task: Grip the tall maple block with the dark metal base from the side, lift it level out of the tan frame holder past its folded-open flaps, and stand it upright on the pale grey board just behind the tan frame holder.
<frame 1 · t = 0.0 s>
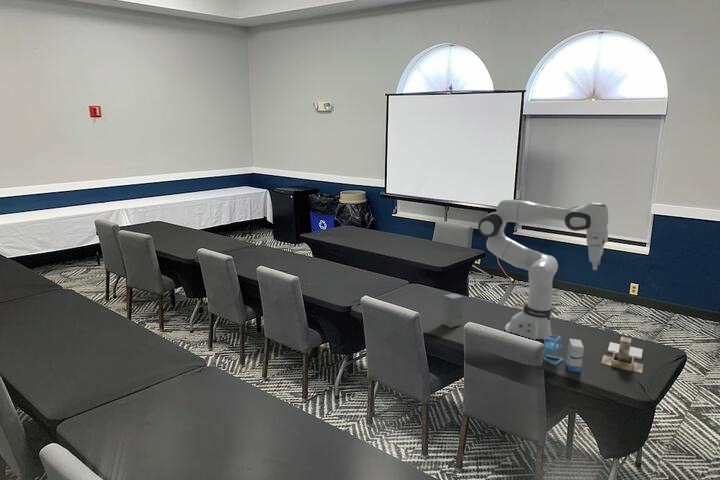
hand: (596, 267, 242), 39 cm above the table, tool pointing down, fingers open, 8 cm apart
chair: (550, 360, 235), on the table
tan frame holder: (622, 364, 232), on the table
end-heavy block: (624, 352, 231), in the tan frame holder
skincare box: (451, 324, 271), on the table
board: (625, 351, 245), on the table
ink box: (573, 368, 228), on the table
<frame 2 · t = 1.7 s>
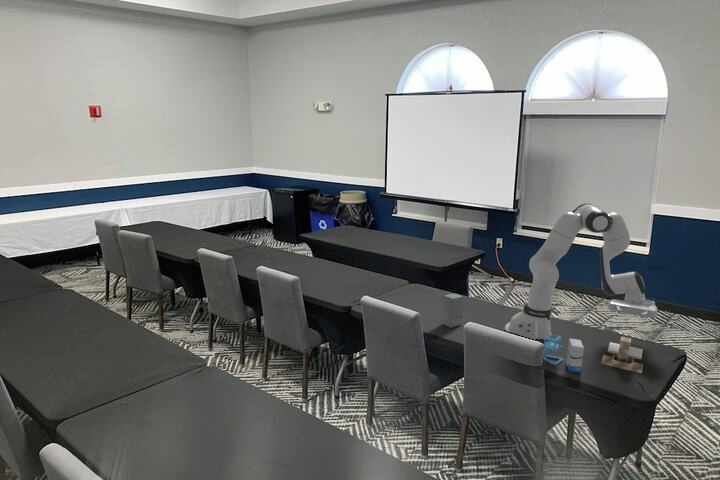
hand: (631, 313, 237), 20 cm above the table, tool horizontal, fingers open, 8 cm apart
nothing on the table moved.
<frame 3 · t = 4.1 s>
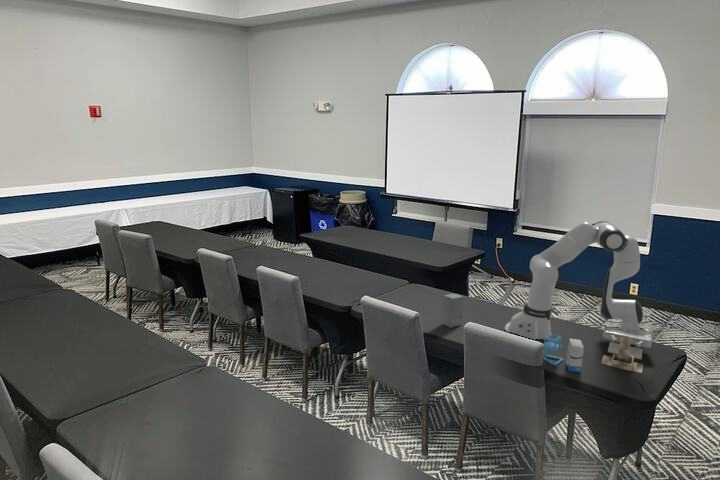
hand: (625, 343, 237), 7 cm above the table, tool horizontal, fingers open, 8 cm apart
nothing on the table moved.
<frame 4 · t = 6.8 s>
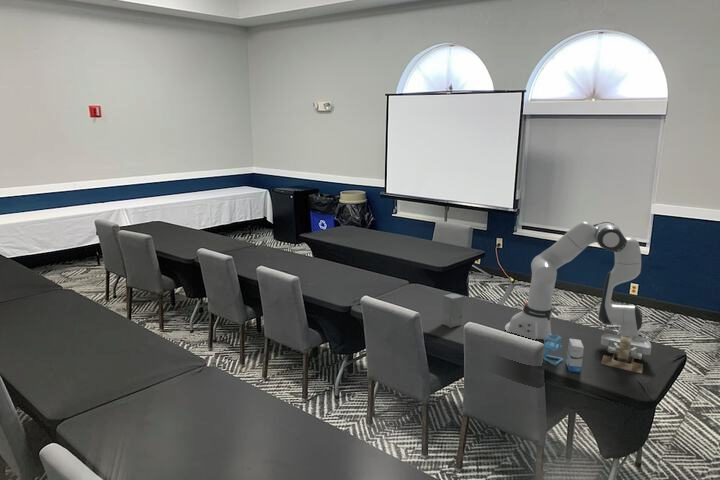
hand: (624, 350, 230), 7 cm above the table, tool horizontal, fingers closed on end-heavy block, 4 cm apart
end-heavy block: (624, 352, 231), in the tan frame holder, touching gripper
everything else where it was.
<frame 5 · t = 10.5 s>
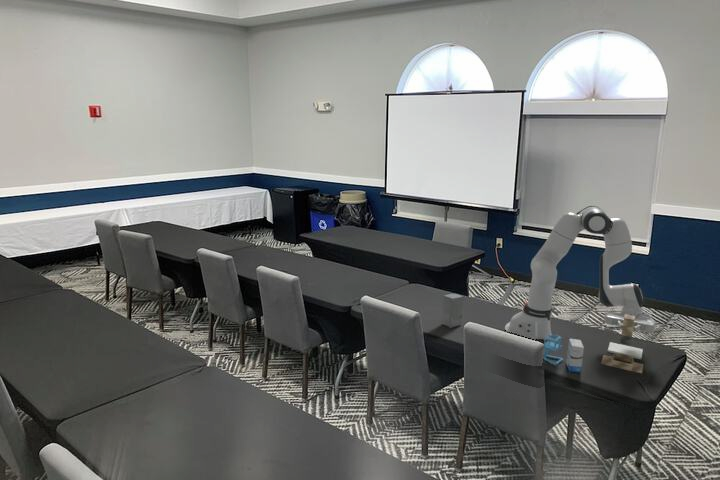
hand: (627, 328, 229), 17 cm above the table, tool horizontal, fingers closed on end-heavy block, 4 cm apart
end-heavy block: (627, 329, 230), point 16 cm above the table, touching gripper
everything else where it was.
when the fingers open (9 cm above the table, at t = 14.7 s): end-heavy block stays where it is, resting on board.
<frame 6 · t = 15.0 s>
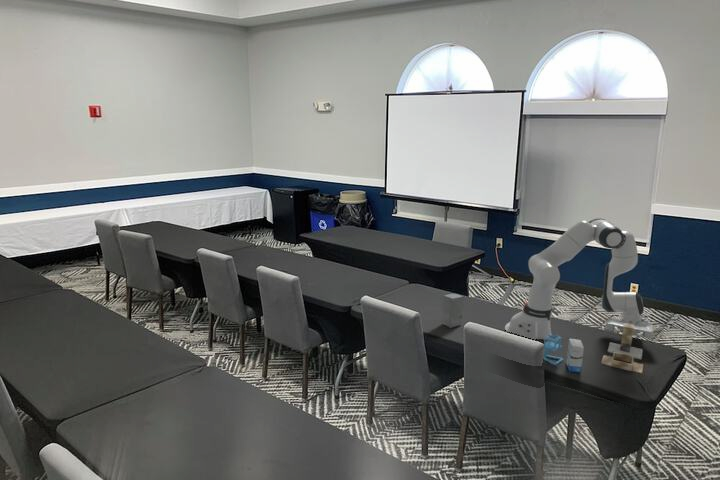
hand: (627, 334, 242), 9 cm above the table, tool horizontal, fingers open, 7 cm apart
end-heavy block: (627, 337, 243), on the board, point 7 cm above the table
everything else where it was.
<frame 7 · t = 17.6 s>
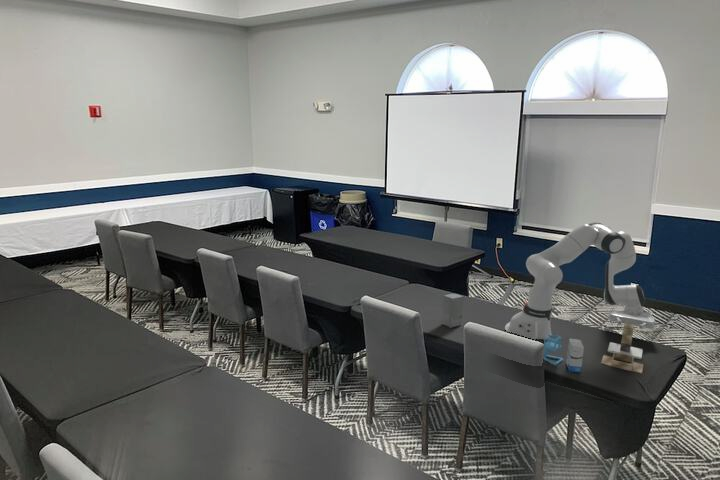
hand: (630, 325, 252), 9 cm above the table, tool horizontal, fingers open, 8 cm apart
nothing on the table moved.
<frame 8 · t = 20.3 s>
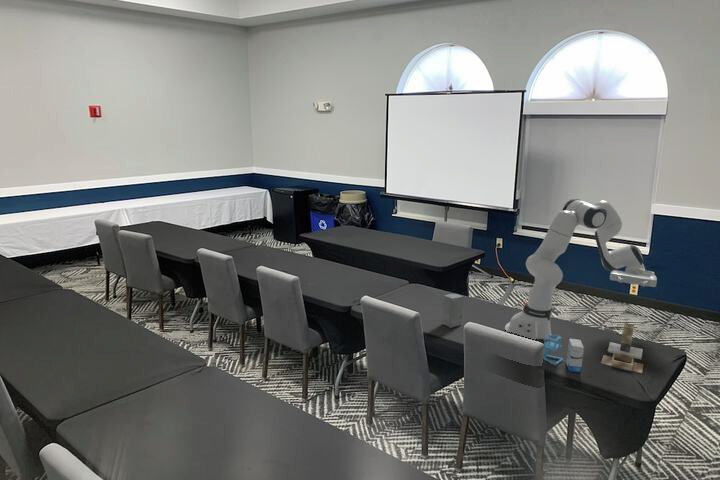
hand: (631, 282, 248), 30 cm above the table, tool horizontal, fingers open, 8 cm apart
nothing on the table moved.
at the end: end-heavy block inside the target area on the board (0.1 cm from its centre), point 7.0 cm above the board's base; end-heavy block tilted 0°; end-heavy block touching board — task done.
